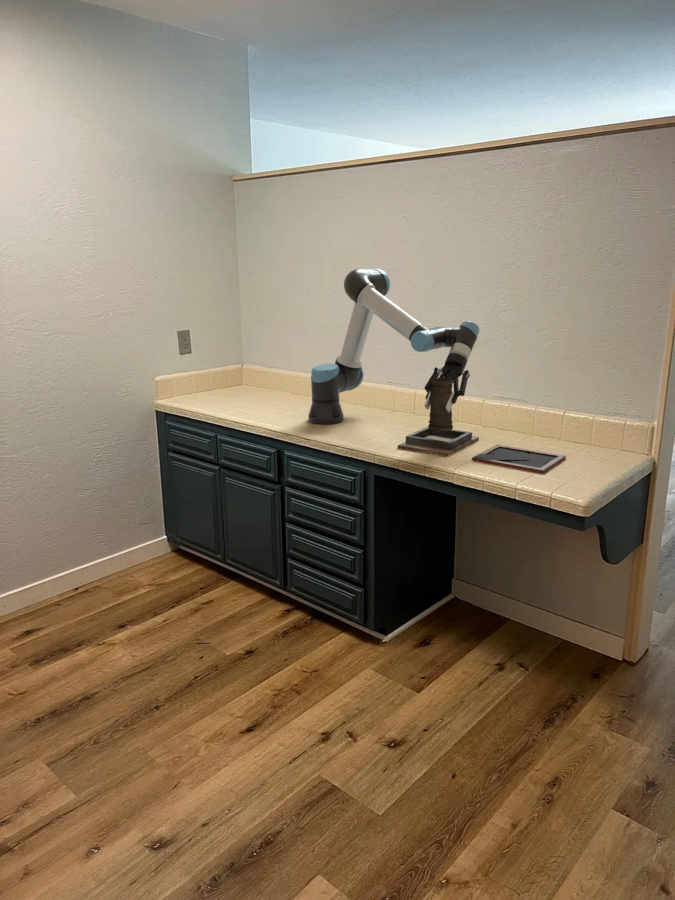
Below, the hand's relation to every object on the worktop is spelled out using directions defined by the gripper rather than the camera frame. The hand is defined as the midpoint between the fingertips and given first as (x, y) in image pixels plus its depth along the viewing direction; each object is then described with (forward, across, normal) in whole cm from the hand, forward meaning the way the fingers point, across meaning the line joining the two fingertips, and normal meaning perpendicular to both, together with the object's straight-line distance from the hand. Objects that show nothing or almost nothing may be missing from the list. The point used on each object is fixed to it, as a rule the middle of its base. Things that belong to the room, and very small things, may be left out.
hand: (436, 408), depth 243 cm
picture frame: (+11, -31, -11) cm, 35 cm away
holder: (+8, 0, -12) cm, 14 cm away
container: (+4, 0, -8) cm, 9 cm away
